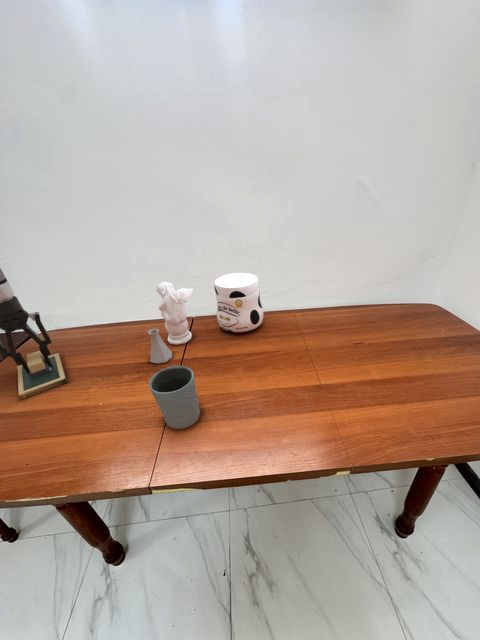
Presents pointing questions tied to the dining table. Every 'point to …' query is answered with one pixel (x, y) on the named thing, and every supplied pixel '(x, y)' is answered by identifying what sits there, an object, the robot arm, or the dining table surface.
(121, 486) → the dining table surface
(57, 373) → the slate
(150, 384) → the grey cup
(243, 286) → the milk container
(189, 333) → the cherub figurine
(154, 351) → the flask
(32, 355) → the eraser
